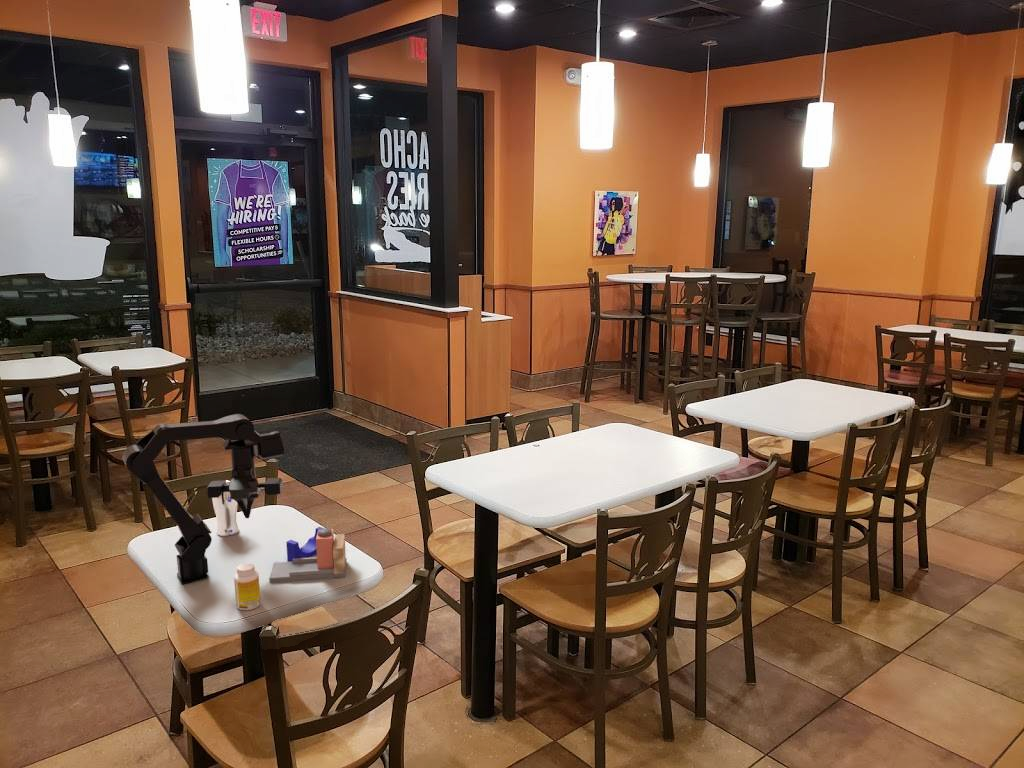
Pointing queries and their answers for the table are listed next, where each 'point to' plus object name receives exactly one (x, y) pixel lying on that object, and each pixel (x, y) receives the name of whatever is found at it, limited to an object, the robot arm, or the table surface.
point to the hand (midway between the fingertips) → (247, 517)
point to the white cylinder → (226, 514)
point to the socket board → (301, 570)
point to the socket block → (339, 553)
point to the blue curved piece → (302, 548)
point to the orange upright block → (325, 548)
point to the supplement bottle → (247, 587)
